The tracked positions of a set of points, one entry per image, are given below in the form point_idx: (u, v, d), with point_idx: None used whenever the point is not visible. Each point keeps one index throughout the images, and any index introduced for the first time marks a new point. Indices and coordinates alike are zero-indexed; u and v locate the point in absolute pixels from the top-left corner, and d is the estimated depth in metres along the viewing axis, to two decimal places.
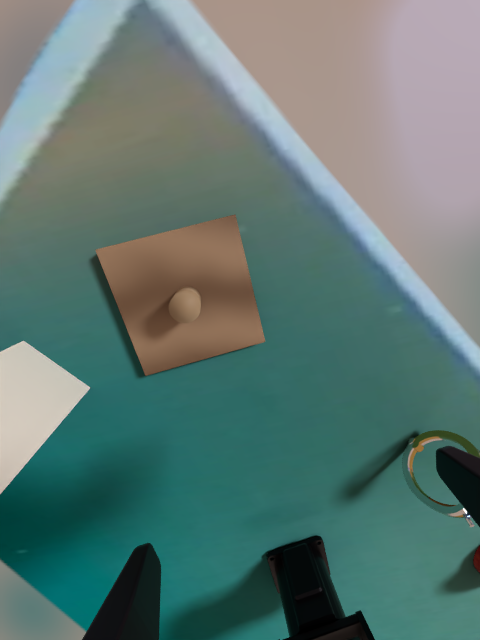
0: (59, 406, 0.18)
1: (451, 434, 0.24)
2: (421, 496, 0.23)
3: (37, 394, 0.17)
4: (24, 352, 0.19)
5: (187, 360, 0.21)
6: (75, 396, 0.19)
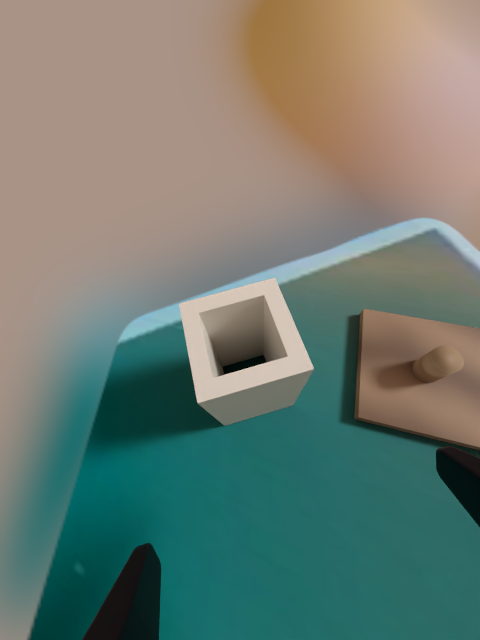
0: None
1: None
2: None
3: None
4: None
5: (407, 425, 0.19)
6: None
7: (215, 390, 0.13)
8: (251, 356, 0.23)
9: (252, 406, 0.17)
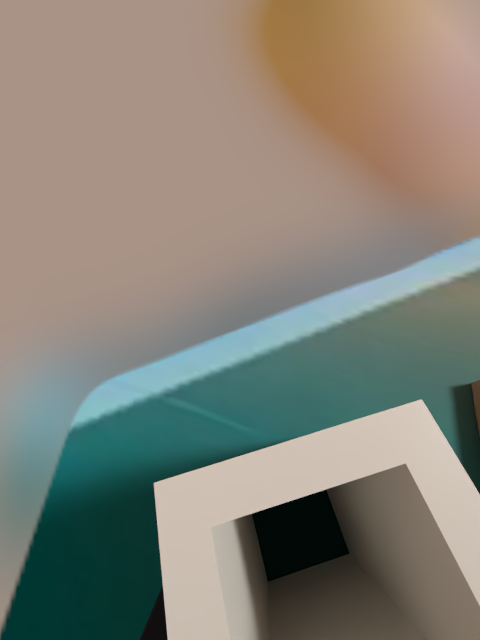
0: None
1: None
2: None
3: None
4: None
5: None
6: None
7: None
8: None
9: None
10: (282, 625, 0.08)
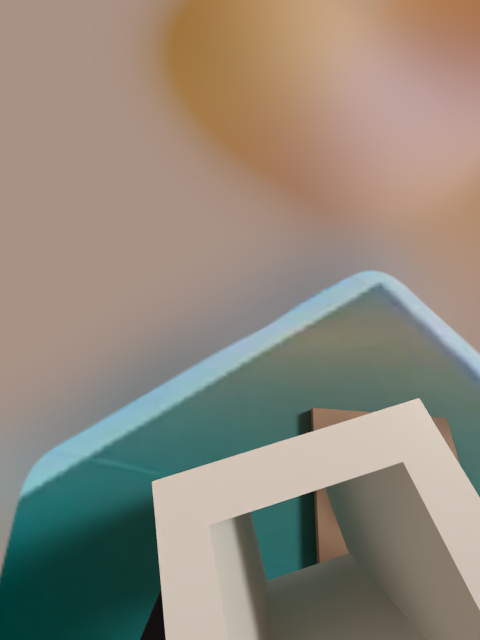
0: None
1: None
2: None
3: None
4: None
5: None
6: None
7: None
8: None
9: None
10: (281, 624, 0.08)
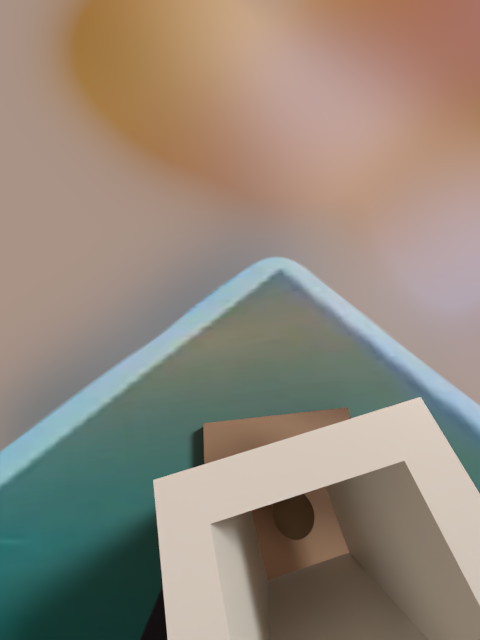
0: None
1: None
2: None
3: None
4: None
5: None
6: None
7: None
8: None
9: None
10: (281, 623, 0.08)
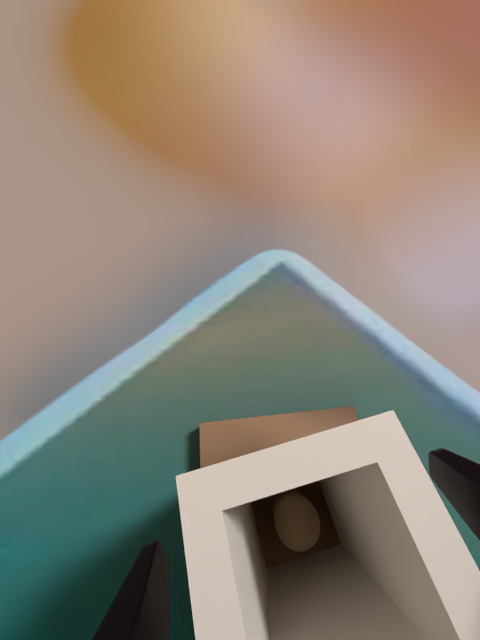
0: None
1: None
2: None
3: None
4: None
5: None
6: None
7: None
8: None
9: None
10: (279, 602, 0.10)
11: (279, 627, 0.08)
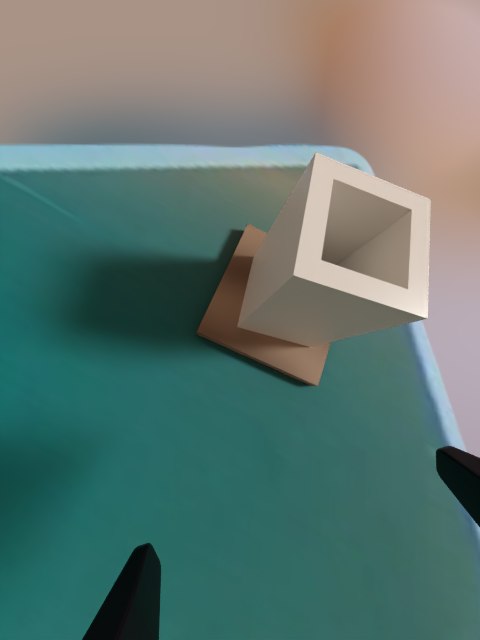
0: None
1: None
2: None
3: None
4: None
5: (242, 348, 0.19)
6: None
7: (318, 274, 0.10)
8: None
9: (297, 322, 0.15)
10: None
11: None
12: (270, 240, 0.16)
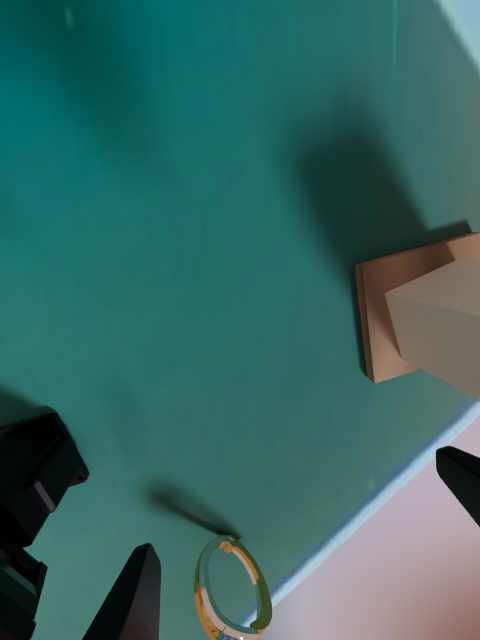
0: None
1: (261, 574, 0.23)
2: (206, 578, 0.20)
3: None
4: None
5: (370, 310, 0.20)
6: None
7: None
8: None
9: (449, 344, 0.15)
10: None
11: None
12: None
